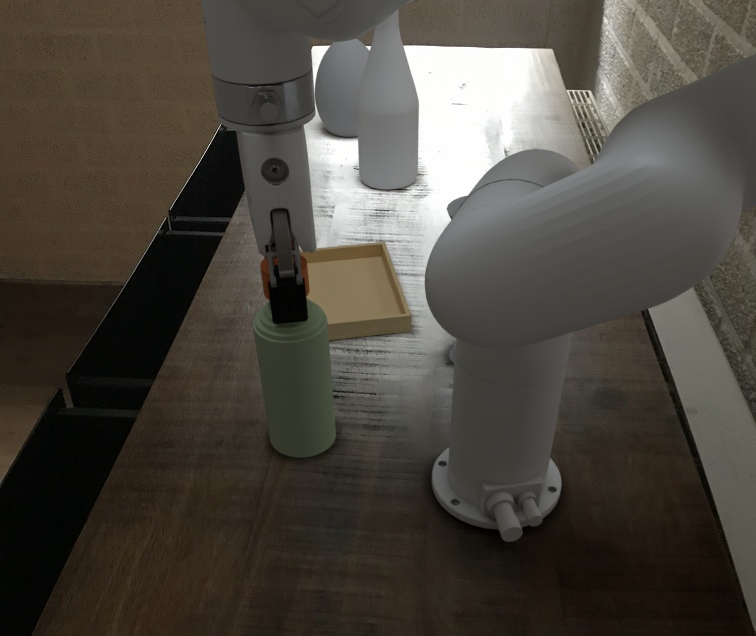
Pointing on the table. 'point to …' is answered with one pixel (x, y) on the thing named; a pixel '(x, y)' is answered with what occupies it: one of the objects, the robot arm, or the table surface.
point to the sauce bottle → (296, 381)
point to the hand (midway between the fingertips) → (288, 305)
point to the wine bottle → (387, 112)
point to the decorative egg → (340, 86)
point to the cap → (265, 266)
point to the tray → (357, 290)
